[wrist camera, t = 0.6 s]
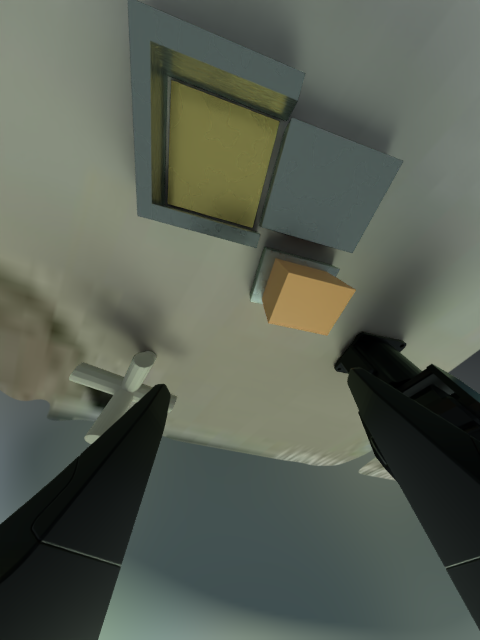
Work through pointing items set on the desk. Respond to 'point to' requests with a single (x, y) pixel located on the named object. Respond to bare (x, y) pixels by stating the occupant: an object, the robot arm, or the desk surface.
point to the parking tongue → (267, 265)
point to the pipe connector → (116, 389)
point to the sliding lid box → (240, 142)
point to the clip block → (304, 297)
